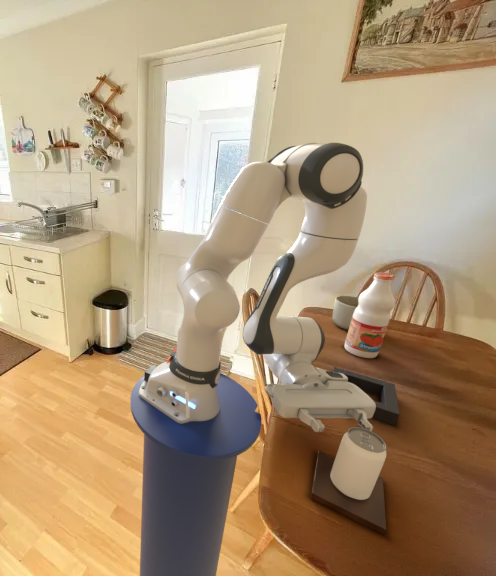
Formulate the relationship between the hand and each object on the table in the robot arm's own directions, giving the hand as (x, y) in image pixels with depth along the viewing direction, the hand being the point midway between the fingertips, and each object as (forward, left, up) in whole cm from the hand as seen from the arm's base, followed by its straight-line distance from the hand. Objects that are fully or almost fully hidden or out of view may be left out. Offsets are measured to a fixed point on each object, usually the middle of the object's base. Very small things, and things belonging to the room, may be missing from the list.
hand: (344, 429), depth 62 cm
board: (+3, -3, -11) cm, 12 cm away
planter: (+1, +79, -11) cm, 79 cm away
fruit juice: (+5, +60, -11) cm, 61 cm away
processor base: (+5, +31, -11) cm, 33 cm away
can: (+3, -3, -10) cm, 11 cm away
